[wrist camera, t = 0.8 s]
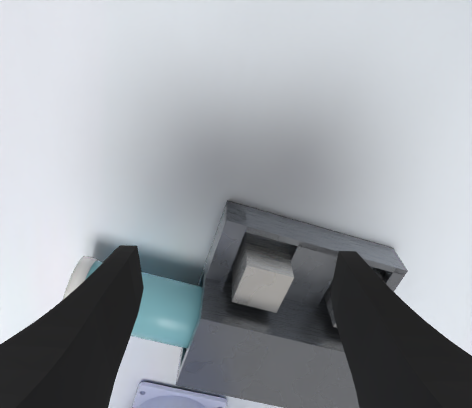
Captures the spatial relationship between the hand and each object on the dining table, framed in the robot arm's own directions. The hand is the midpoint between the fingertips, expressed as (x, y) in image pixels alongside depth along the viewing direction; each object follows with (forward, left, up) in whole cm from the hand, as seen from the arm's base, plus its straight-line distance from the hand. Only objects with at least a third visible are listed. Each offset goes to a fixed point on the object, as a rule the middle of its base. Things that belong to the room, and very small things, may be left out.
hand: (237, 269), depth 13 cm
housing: (-8, -6, -10) cm, 15 cm away
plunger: (-5, -3, -9) cm, 11 cm away
